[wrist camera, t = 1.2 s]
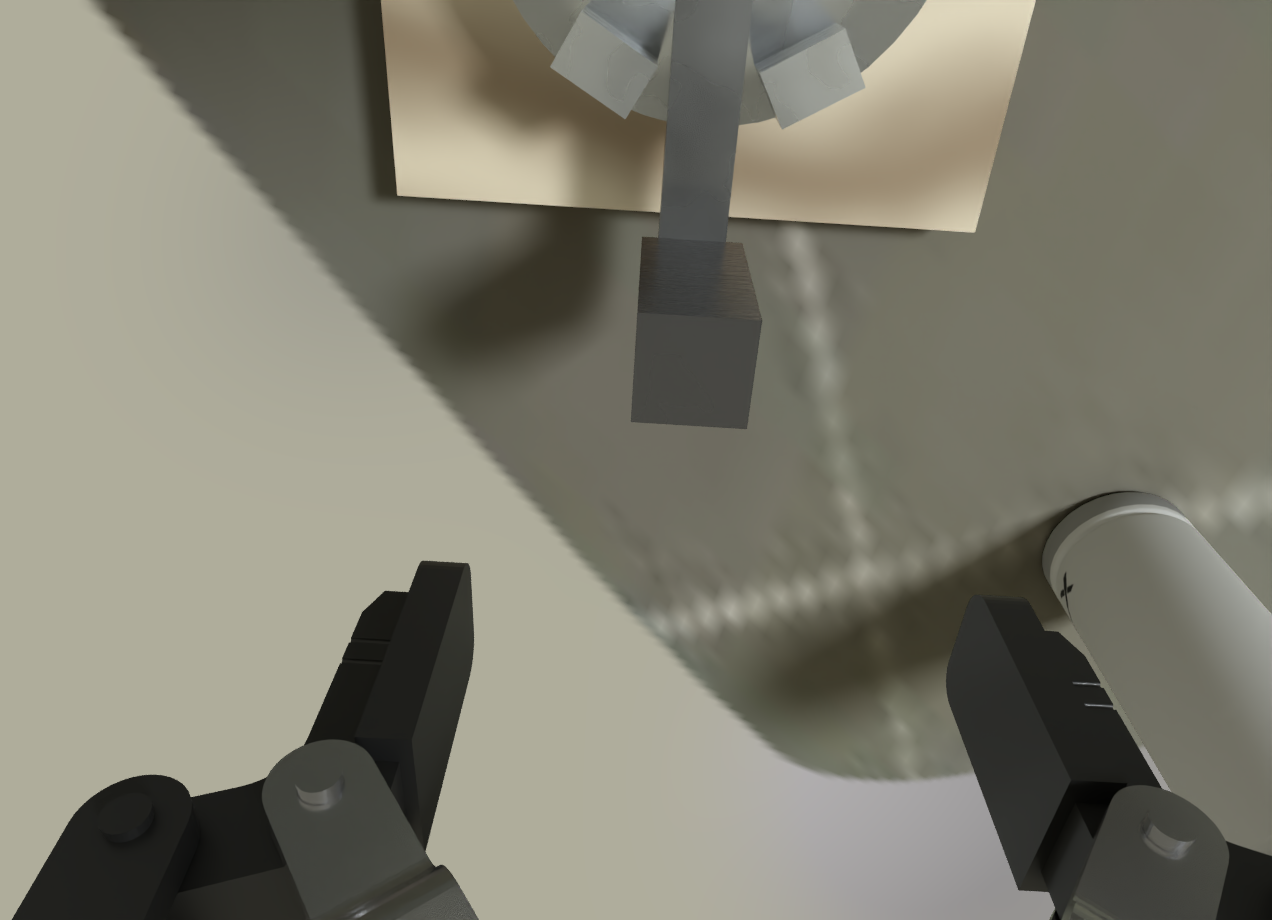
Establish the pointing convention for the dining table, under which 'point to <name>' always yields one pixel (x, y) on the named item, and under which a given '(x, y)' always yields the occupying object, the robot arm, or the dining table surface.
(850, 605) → the dining table surface
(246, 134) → the dining table surface
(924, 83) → the base plate
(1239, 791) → the travel mug
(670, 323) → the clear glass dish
